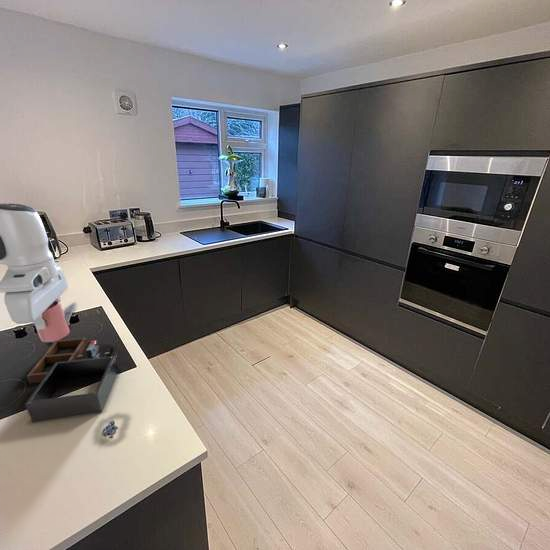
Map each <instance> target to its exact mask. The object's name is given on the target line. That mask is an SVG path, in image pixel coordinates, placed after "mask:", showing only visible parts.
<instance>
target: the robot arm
mask: <svg viewBox="0 0 550 550" xmlns="http://www.w3.org/2000/svg"><path fill="white" fill-rule="evenodd" d="M0 261H4V263H5V264H6V266H7V269H6V271H5V273H4V276H3V277H2V278H1V280H0V293H2V294H3V293H4V296H3V300H4V304H5V307H6V310H7V312H8V315H9V317H10V320H11V321H12V322H14V323H15V324H17V325H19V324H21V325H23V324H32V323H33V325H34V326H35V325H36V327H35V329H36V328H37V329H38V330H41V329H45V328H46V327H47V325H48V324H47V321H46V320H43V319H42V318H41V317H42V313H43V312H44V311H45V310H46V309H47V308H48V307H49V306H50V305H51V304H52V303H53V302H54V301H55V300H58V301H60V302H61V301H62V300H61V299H62V298H61V296H62V294H64V293H65V292H66V291H67V290H68V282H67V279H66V276H65V273H64V271H63V269H62V268H61V267H60V266H58V263H57V262H56V261H55V258H54V255H53V253H52V251H50V247H49V238H48V235H47V232H46V229H45V226H44V223H43V220H42V218H41V217H40V215H39V213H38V211H37V210H35V208H33V207H31V206H28V205H25V204H19V203H0ZM37 329H36V330H37Z"/></svg>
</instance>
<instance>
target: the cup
mask: <svg viewBox="0 0 550 550" xmlns="http://www.w3.org/2000/svg"><path fill="white" fill-rule="evenodd" d="M65 317H66V315H64V308H63V306H62V304H61V301H58V300H55V301H54V302H53V303H52V304H51V305H50V306H49V307H48V308H47V309H46V310H45V311H44V312H43V313H42V317H41V318H42V319H43V320H46V321H47V324H48V325H47V327H46V328H45V329H41V330H38V329H37V328H36V325H35V324H34V326H35V329H36V332H37V334H38V337H39V339H40V341H41V342H43V343H51V342H53V341H56V340H59V339H61V340H63V338H65V337H67V336H68V335H69V334H70V332H71V330H70V327H69V326H68V324H67V321H66V318H65Z"/></svg>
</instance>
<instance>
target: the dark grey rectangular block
mask: <svg viewBox="0 0 550 550" xmlns="http://www.w3.org/2000/svg"><path fill="white" fill-rule="evenodd" d="M98 346H99V345H98V341H97V340H96V339H95V340H91V341H90V344H89V345H87V347H88V348H87V350H86V352H87V356H88V359H90V358H94V357H95V355H96V353H97V352H98V350H99V349H98Z"/></svg>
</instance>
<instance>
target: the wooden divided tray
mask: <svg viewBox="0 0 550 550" xmlns="http://www.w3.org/2000/svg"><path fill="white" fill-rule="evenodd" d="M88 346H89V345H88V339H87V337H79V338H68V339H61V340H56V341H55V342H54V343H52V344H51V345H50V347H49V348H48V349H47V350H46V352H45V353H44V354H43V356H42V357H41V358H40V359H39V360H38V362H36V364H35V365H34V366H33V367H32V369H31V370H30V371H29V373H28V374H27V375H26V378H27V381H28V384H36V383H38V384H39V383H41V382H42V381H43V379H44V378H45V376H46V375H47V374H48V372H49V371H44V372H43V370H45V368H46V366H48V365H52V364H53V365H54V364H55V363H56V362H63V361H72V360H78V358H79V357H77V356H80V355H81V354H82V352H83V350H84V349H85V347H88ZM66 348H67V349H68V348H75V349H74V351H73V352H68V353H58V354H57V352H58V351H59V350H60V349H66Z"/></svg>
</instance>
